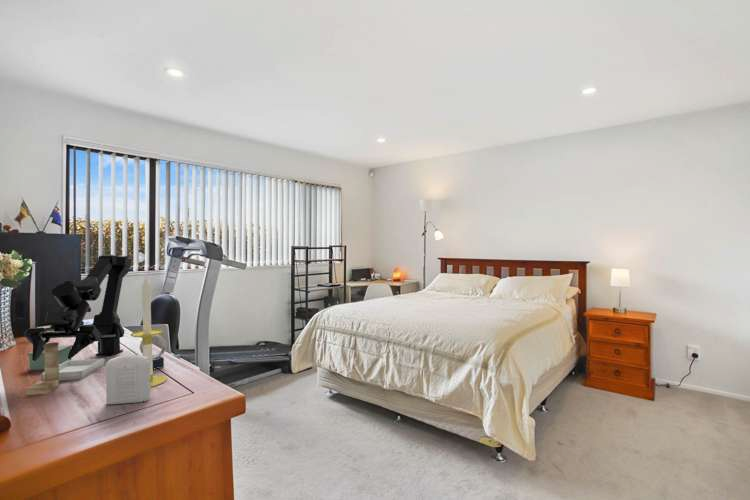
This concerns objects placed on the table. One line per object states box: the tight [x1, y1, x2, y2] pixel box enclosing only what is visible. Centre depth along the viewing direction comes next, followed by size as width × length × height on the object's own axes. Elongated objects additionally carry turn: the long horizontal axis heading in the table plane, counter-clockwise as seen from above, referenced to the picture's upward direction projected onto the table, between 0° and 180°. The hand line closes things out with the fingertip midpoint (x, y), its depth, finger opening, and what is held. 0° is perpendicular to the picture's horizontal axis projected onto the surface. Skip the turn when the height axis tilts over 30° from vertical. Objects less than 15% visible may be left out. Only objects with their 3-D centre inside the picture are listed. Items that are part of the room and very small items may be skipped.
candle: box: [130, 277, 168, 388], centre depth 113 cm, size 10×10×32 cm
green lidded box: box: [27, 344, 73, 371], centre depth 130 cm, size 9×9×7 cm
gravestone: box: [105, 354, 151, 405], centre depth 100 cm, size 10×4×12 cm, turn 103°
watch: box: [139, 334, 168, 370], centre depth 127 cm, size 6×8×11 cm
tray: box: [40, 357, 105, 382], centre depth 122 cm, size 13×11×2 cm
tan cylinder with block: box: [25, 341, 60, 396], centre depth 109 cm, size 8×5×13 cm, turn 11°
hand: (51, 359), depth 111 cm, fingers open, 9 cm apart
